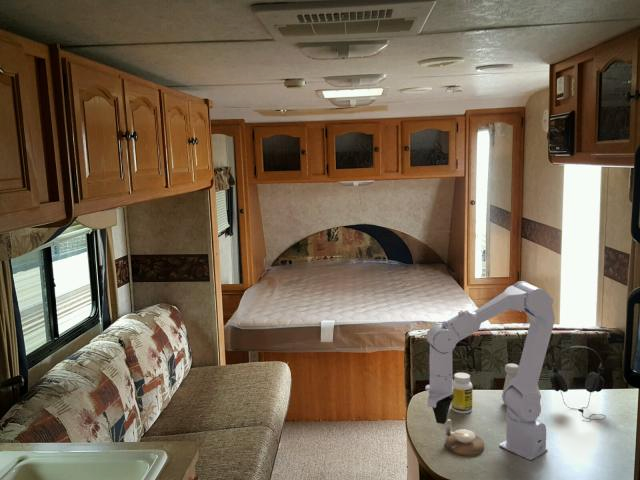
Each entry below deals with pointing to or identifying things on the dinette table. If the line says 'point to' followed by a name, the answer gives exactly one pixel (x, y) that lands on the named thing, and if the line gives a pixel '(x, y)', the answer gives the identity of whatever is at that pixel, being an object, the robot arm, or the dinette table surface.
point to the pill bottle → (462, 393)
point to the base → (465, 446)
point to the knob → (460, 433)
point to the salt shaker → (510, 374)
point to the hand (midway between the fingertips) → (441, 422)
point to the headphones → (591, 383)
